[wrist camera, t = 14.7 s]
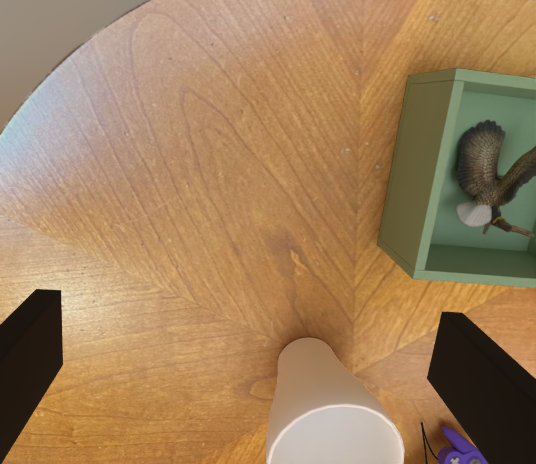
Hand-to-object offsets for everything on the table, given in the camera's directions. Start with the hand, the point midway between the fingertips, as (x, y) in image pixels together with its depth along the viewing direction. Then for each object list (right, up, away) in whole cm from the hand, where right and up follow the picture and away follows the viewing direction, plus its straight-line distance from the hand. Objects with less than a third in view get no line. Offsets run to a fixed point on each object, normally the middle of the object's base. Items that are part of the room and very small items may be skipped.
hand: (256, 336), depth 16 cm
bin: (+19, +9, +27) cm, 34 cm away
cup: (+4, -10, +31) cm, 33 cm away
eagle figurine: (+20, +9, +26) cm, 34 cm away
